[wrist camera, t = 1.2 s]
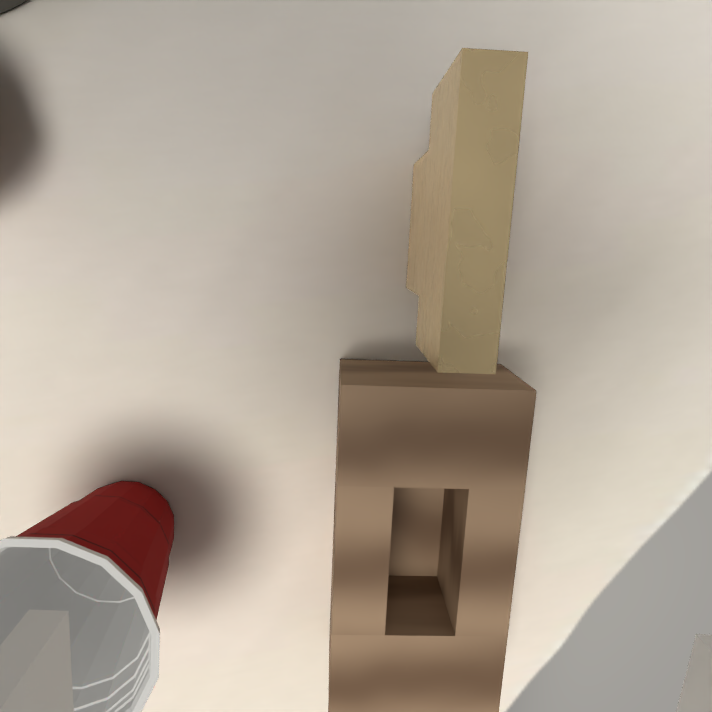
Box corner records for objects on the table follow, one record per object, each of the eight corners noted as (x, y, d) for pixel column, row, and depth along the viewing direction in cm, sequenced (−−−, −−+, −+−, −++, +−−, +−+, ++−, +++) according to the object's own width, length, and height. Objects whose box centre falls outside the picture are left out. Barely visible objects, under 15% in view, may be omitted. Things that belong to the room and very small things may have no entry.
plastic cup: (250, 504, 34) (206, 640, 23) (155, 620, 36) (68, 804, 24) (107, 405, 33) (-22, 497, 21) (13, 532, 34) (-155, 685, 22)
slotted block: (340, 358, 33) (340, 384, 27) (500, 364, 33) (536, 390, 27) (329, 641, 37) (328, 716, 31) (472, 642, 37) (498, 717, 31)
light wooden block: (416, 117, 30) (462, 47, 19) (458, 119, 30) (528, 52, 19) (403, 328, 32) (437, 372, 22) (442, 330, 32) (495, 374, 22)
